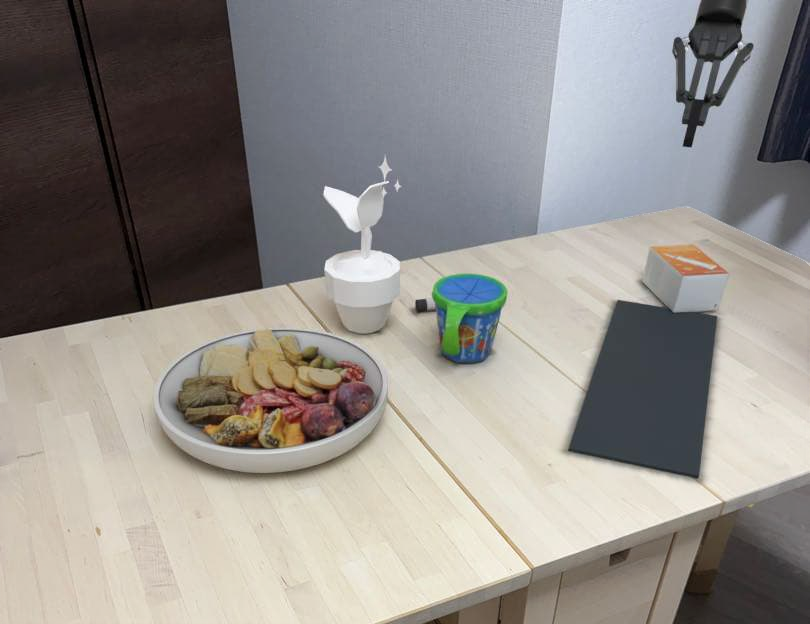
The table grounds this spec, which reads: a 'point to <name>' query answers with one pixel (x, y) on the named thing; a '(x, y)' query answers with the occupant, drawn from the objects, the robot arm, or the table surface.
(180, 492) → the table surface
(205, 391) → the bowl
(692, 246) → the small box
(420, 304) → the marker
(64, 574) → the table surface
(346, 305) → the potted plant
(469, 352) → the snack cup
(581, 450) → the slate mat
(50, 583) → the table surface
